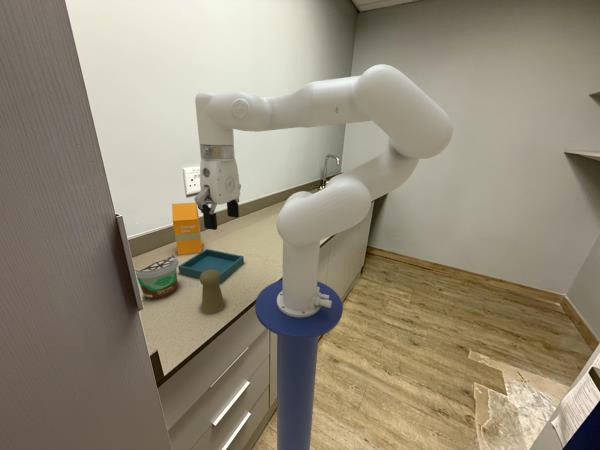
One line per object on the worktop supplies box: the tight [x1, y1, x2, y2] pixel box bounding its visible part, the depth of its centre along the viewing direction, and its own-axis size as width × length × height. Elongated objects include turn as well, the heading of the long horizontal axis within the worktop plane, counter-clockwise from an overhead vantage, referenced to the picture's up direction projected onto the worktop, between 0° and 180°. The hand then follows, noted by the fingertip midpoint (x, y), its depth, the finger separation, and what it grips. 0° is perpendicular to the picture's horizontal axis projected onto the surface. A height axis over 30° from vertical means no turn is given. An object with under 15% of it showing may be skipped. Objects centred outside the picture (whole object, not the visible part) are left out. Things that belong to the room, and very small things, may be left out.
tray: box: [177, 248, 245, 285], centre depth 87 cm, size 17×15×3 cm
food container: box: [134, 253, 179, 300], centre depth 72 cm, size 12×6×10 cm, turn 151°
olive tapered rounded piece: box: [199, 270, 225, 314], centre depth 67 cm, size 6×6×11 cm
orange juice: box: [171, 202, 203, 256], centre depth 97 cm, size 8×9×20 cm
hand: (222, 222), depth 62 cm, fingers open, 9 cm apart
